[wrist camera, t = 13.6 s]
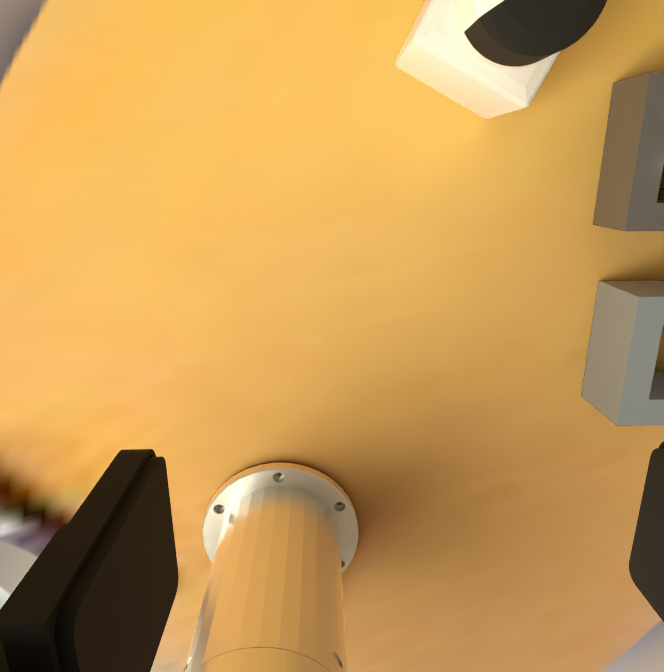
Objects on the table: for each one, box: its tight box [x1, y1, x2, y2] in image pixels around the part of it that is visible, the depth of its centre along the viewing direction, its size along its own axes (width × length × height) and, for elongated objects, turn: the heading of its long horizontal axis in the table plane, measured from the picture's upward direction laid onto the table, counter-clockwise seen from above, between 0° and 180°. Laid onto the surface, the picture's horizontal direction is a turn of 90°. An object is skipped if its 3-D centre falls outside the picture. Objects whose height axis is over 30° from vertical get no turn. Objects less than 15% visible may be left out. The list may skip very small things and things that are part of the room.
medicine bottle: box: [396, 0, 607, 119], centre depth 27 cm, size 7×7×12 cm
